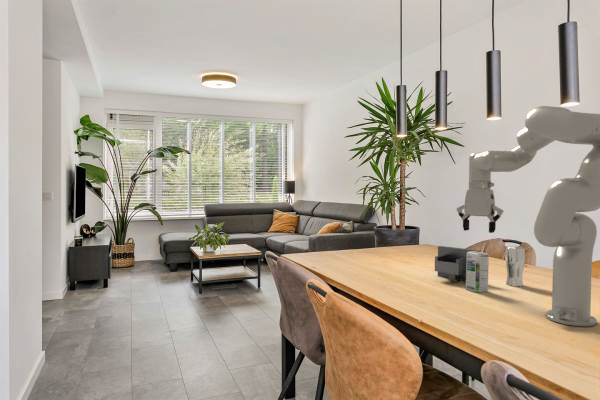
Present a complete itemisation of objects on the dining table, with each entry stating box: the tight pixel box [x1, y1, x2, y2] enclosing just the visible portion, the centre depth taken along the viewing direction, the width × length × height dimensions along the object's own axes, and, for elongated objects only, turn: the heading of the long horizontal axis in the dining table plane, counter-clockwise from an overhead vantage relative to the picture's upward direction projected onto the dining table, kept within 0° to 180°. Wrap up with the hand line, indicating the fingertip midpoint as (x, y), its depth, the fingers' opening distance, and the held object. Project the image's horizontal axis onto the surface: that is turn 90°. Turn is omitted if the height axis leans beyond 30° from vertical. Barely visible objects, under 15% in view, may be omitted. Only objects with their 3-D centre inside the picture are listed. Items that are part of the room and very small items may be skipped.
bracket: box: [434, 245, 482, 282], centre depth 172 cm, size 11×18×13 cm, turn 42°
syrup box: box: [465, 251, 490, 294], centre depth 156 cm, size 6×6×14 cm
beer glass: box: [504, 245, 526, 288], centre depth 165 cm, size 7×7×15 cm
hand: (478, 231), depth 155 cm, fingers open, 9 cm apart
